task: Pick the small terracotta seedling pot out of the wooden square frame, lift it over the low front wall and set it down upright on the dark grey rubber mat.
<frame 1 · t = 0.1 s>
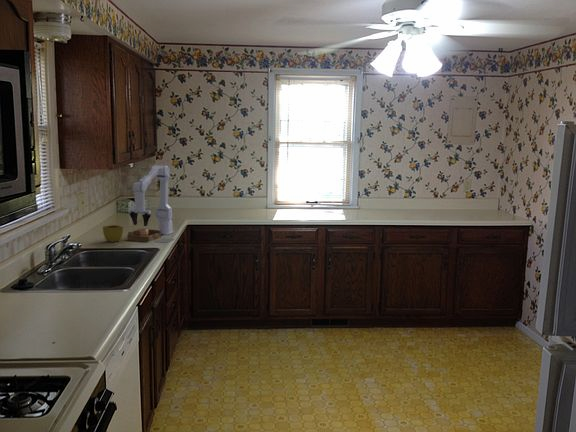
hand: (140, 225, 336), 10 cm above the worktop, tool pointing down, fingers open, 7 cm apart
wooden square frame: (144, 238, 346), on the worktop
seedling pot: (144, 233, 345), in the wooden square frame
flower pot: (113, 241, 338), on the worktop
rubber mat: (164, 240, 342), on the worktop
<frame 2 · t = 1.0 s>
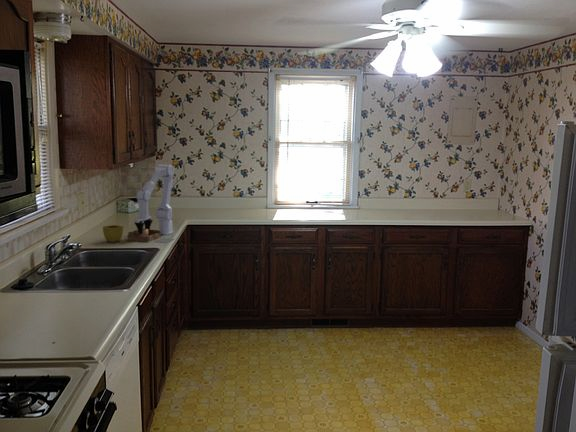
hand: (144, 232, 345), 4 cm above the worktop, tool pointing down, fingers open, 7 cm apart
nothing on the worktop moved.
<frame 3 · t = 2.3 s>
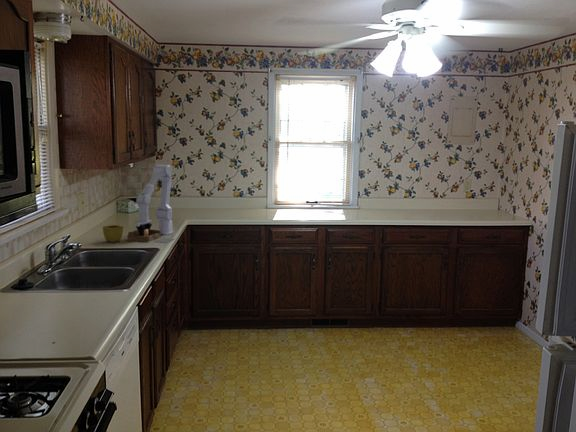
hand: (144, 236, 346), 2 cm above the worktop, tool pointing down, fingers closed on seedling pot, 5 cm apart
seedling pot: (144, 233, 345), resting in wooden square frame, touching gripper
everything else where it was.
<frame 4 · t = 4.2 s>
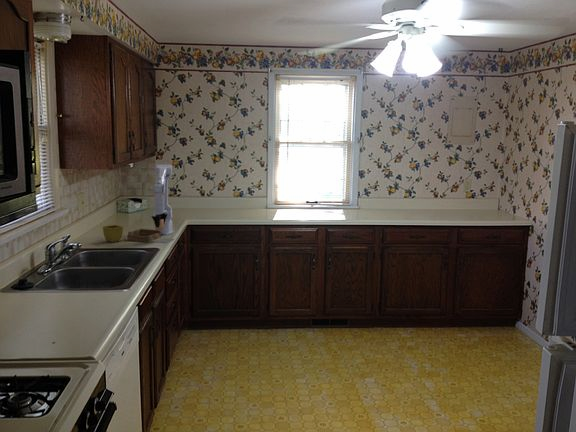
hand: (159, 226, 341), 8 cm above the worktop, tool pointing down, fingers closed on seedling pot, 5 cm apart
seedling pot: (159, 224, 341), point 10 cm above the worktop, touching gripper
everything else where it was.
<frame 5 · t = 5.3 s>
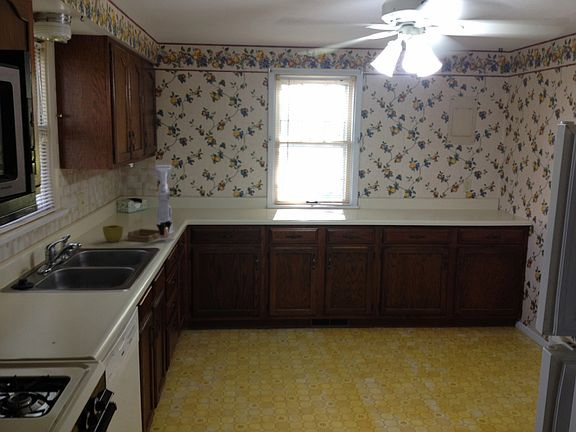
hand: (164, 234, 341), 4 cm above the worktop, tool pointing down, fingers closed on seedling pot, 5 cm apart
seedling pot: (164, 232, 341), point 5 cm above the worktop, touching gripper
everything else where it was.
when the fingers open (3 cm above the worktop, at t = 6.4 s): seedling pot drops 1 cm, resting on rubber mat.
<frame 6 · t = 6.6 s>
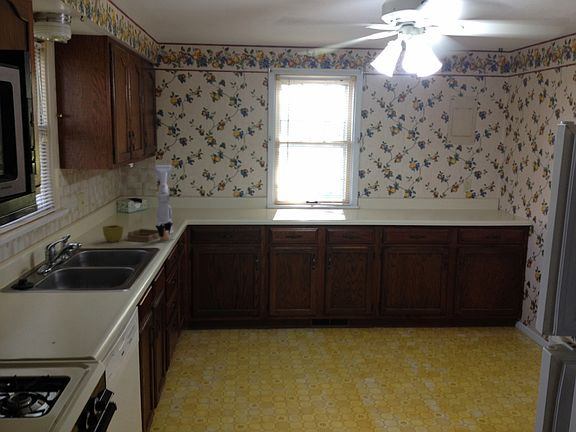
hand: (164, 235, 341), 3 cm above the worktop, tool pointing down, fingers open, 7 cm apart
seedling pot: (164, 235, 341), resting on rubber mat
everything else where it was.
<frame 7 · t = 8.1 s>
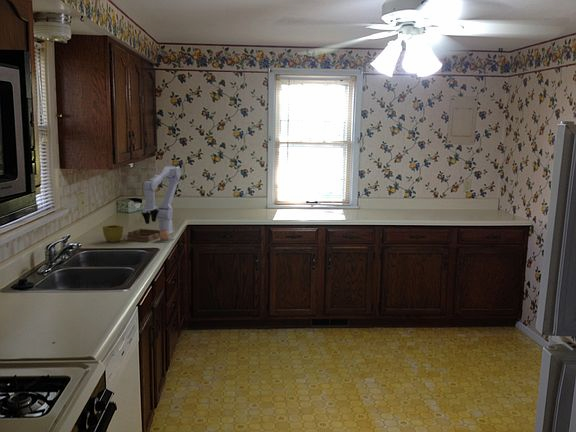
hand: (150, 222, 348), 9 cm above the worktop, tool pointing down, fingers open, 7 cm apart
nothing on the worktop moved.
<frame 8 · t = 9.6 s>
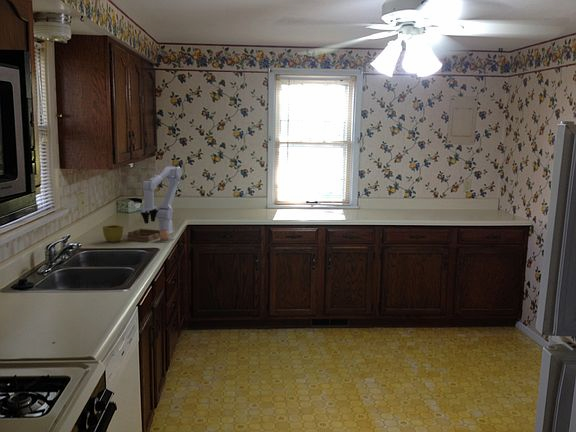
hand: (149, 222, 349), 9 cm above the worktop, tool pointing down, fingers open, 7 cm apart
nothing on the worktop moved.
at the end: seedling pot inside the target area (0.3 cm from its centre), resting on rubber mat; seedling pot tilted 1°; the gripper is holding nothing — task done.
